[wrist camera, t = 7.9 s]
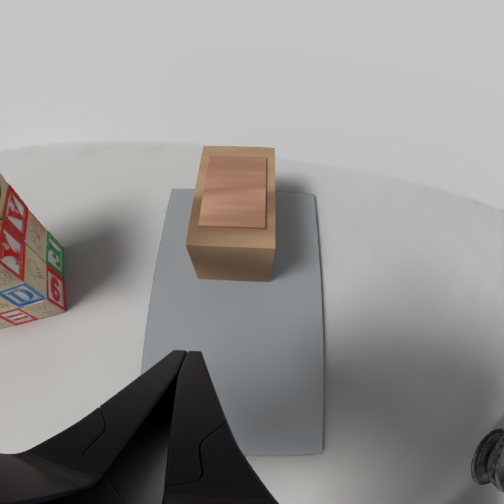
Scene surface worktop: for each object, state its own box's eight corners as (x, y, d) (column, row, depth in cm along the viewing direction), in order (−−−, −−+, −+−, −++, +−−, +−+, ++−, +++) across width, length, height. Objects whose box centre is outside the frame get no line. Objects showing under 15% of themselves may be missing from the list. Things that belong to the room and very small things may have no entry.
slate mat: (320, 452, 16) (321, 453, 16) (138, 440, 16) (136, 441, 16) (312, 197, 25) (313, 193, 25) (173, 192, 25) (172, 188, 25)
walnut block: (275, 246, 17) (274, 145, 20) (185, 243, 17) (203, 144, 20) (269, 282, 21) (270, 191, 25) (198, 279, 21) (210, 189, 25)
